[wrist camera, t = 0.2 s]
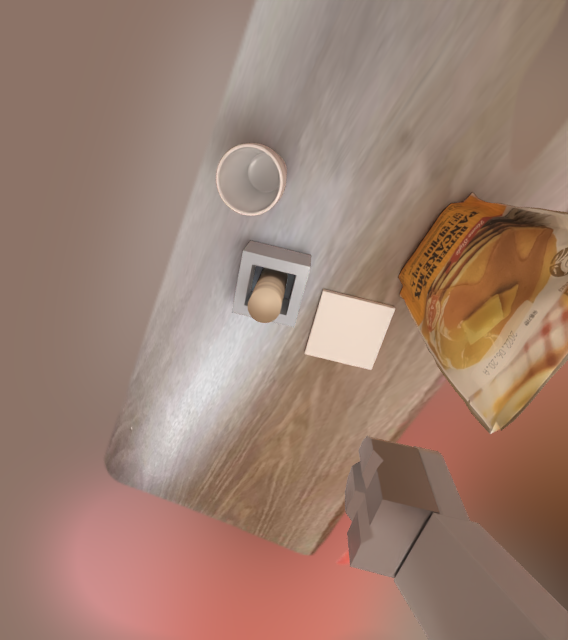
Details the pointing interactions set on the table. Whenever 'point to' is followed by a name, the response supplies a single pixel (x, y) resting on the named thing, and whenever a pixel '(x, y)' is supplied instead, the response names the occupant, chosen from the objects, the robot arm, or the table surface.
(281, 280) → the birch pin
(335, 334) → the square mat
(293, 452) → the table surface
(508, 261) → the pancake mix bag
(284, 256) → the grey square frame
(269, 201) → the drinking glass
